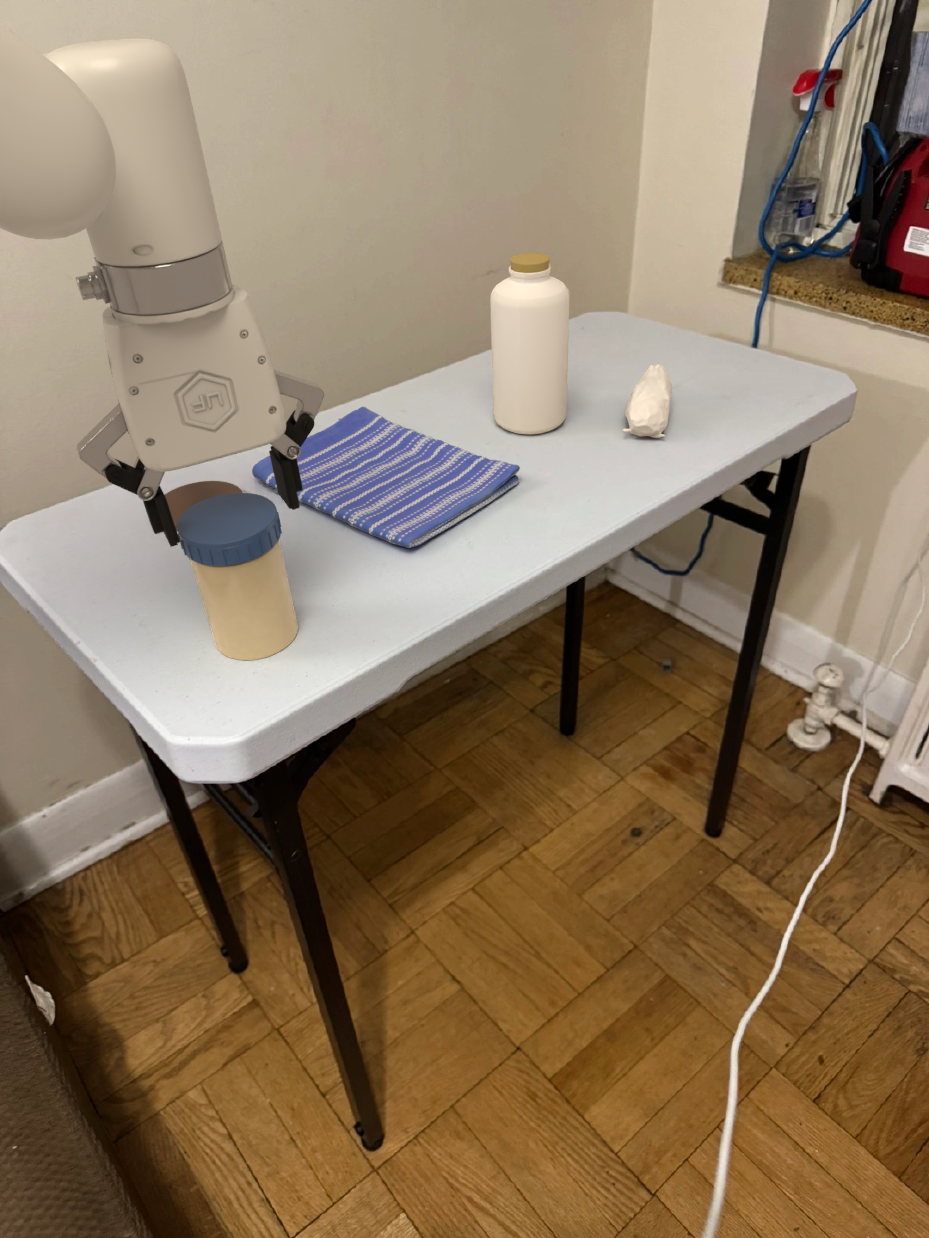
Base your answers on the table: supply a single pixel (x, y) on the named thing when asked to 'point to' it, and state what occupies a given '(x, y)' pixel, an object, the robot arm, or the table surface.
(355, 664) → the table surface
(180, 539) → the lid
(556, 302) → the potion bottle
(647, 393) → the bird figurine
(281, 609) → the jar
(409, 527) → the dish towel
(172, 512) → the coaster
